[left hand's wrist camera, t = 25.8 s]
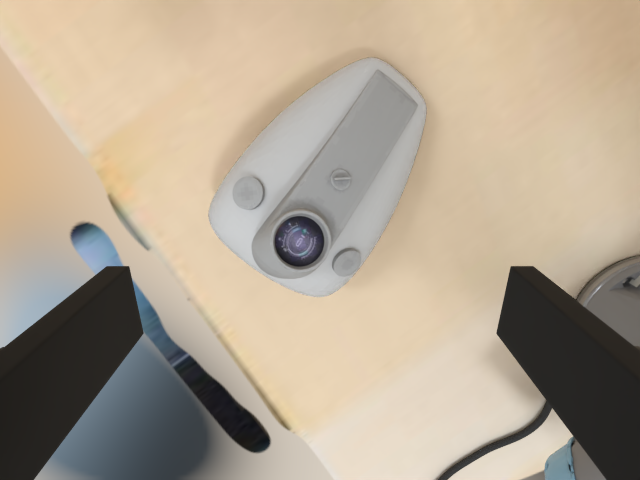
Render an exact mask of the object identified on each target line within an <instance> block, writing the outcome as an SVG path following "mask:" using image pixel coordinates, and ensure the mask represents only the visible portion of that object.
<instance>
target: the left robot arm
mask: <svg viewBox="0 0 640 480" xmlns="http://www.w3.org/2000/svg"><path fill="white" fill-rule="evenodd" d="M142 335H143V329H142V324H141V319H140V315H139V310H138V305H137V301H136V296H135V291H134V287H133V282H132V278H131V273H130V268H129V266H107V267H105V268H104V269H103V270H102V271H100V272H99V273H98V274H97V275H95V276H94V277H93V278H91V279H90V280H89V281H88V282H86V283H85V284H84V285H83V286H81V287H80V288H79V289H78V290H76V291H75V292H74V293H72V294H71V295H70V296H69V297H67V298H66V299H65V300H64V301H62V302H61V303H60V304H59V305H57V306H56V307H55V308H53V309H52V310H51V311H50V312H48V313H47V314H46V315H45V316H43V317H42V318H41V319H40V320H38V321H37V322H36V323H35V324H33V325H32V326H31V327H29V328H28V329H27V330H26V331H24V332H23V333H22V334H20V335H19V336H18V337H17V338H15V339H14V340H13V341H12V342H10V343H9V344H8V345H7V346H5V347H2V348H0V480H34V479H35V477H36V476H37V475H38V473H39V472H40V471H41V469H42V468H43V467H44V465H45V464H46V463H47V461H48V460H49V459H50V457H51V456H52V455H53V453H54V452H55V451H56V449H57V448H58V447H59V445H60V444H61V443H62V441H63V440H64V439H65V437H66V436H67V435H68V433H69V432H70V431H71V429H72V428H73V427H74V425H75V424H76V423H77V421H78V420H79V419H80V417H81V416H82V415H83V413H84V412H85V411H86V409H87V408H88V407H89V405H90V404H91V403H92V401H93V400H94V399H95V397H96V396H97V395H98V393H99V392H100V391H101V389H102V388H103V387H104V385H105V384H106V383H107V381H108V380H109V379H110V377H111V376H112V375H113V373H114V372H115V371H116V369H117V368H118V367H119V365H120V364H121V363H122V361H123V360H124V359H125V357H126V356H127V355H128V353H129V352H130V351H131V349H132V348H133V347H134V345H135V344H136V343H137V341H138V340H139V339H140V337H141V336H142ZM497 335H498V336H499V337H500V339H501V340H502V341H503V343H504V344H505V345H506V347H507V348H508V349H509V351H510V352H511V353H512V355H513V356H514V357H515V359H516V360H517V361H518V363H519V364H520V365H521V367H522V368H523V369H524V371H525V372H526V373H527V375H528V376H529V377H530V379H531V380H532V381H533V383H534V384H535V385H536V387H537V388H538V389H539V391H540V392H541V393H542V395H543V396H544V397H545V399H546V400H547V402H546V404H545V406H544V408H543V410H542V412H541V414H540V415H539V417H538V418H537V419H536V420H535V421H534V422H533V423H532V424H531V425H529V426H528V427H527V428H525V429H524V430H522V431H520V432H518V433H516V434H514V435H512V436H509V437H507V438H504V439H502V440H499V441H497V442H494V443H492V444H490V445H488V446H486V447H484V448H482V449H480V450H478V451H477V452H475V453H473V454H472V455H470V456H468V457H467V458H465V459H463V460H462V461H460V462H459V463H457V464H456V465H454V466H453V467H451V468H450V469H449V470H448V471H446V472H445V473H444V474H443V475H442V476H441V477H440V478H439V479H438V480H448V479H449V478H450V477H451V476H452V475H453V474H455V473H456V472H457V471H459V470H460V469H462V468H463V467H465V466H467V465H468V464H470V463H472V462H473V461H475V460H477V459H478V458H480V457H482V456H484V455H485V454H487V453H489V452H491V451H493V450H496V449H498V448H500V447H503V446H506V445H508V444H511V443H513V442H516V441H518V440H520V439H522V438H524V437H526V436H528V435H529V434H531V433H532V432H534V431H535V430H536V429H537V428H539V427H540V426H541V425H542V423H543V422H544V421H545V420H546V418H547V417H548V415H549V413H550V411H551V409H552V408H553V409H554V411H555V412H556V413H557V415H558V416H559V417H560V419H561V420H562V421H563V423H564V424H565V425H566V427H567V428H568V429H569V431H570V432H571V433H572V435H573V437H572V438H570V440H569V441H568V443H567V444H566V445H565V446H563V447H562V448H560V449H559V450H557V451H556V452H555V453H553V454H552V455H551V456H550V457H549V458H548V459H547V461H546V463H545V470H544V471H545V480H640V256H635V257H631V258H628V259H625V260H622V261H620V262H618V263H615V264H614V265H612V266H610V267H608V268H607V269H605V270H603V271H602V272H601V273H599V274H598V275H597V276H596V277H594V278H593V279H592V280H591V281H590V282H589V283H588V284H587V285H586V287H585V288H584V289H583V290H582V292H581V293H580V295H579V296H578V298H577V300H575V299H574V298H573V297H571V296H570V295H569V294H568V293H566V292H565V291H564V290H562V289H561V288H560V287H559V286H557V285H556V284H555V283H554V282H552V281H551V280H550V279H549V278H547V277H546V276H545V275H543V274H542V273H541V272H540V271H538V270H537V269H536V268H535V267H533V266H511V268H510V273H509V278H508V282H507V287H506V291H505V296H504V301H503V305H502V310H501V315H500V319H499V324H498V329H497Z"/></svg>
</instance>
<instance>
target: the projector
mask: <svg viewBox="0 0 640 480" xmlns="http://www.w3.org/2000/svg"><path fill="white" fill-rule="evenodd" d="M426 110H427V109H426V103H425V100H424V99H423V97H422V95H421V94H420V93H419V91H418V90H417V89H416V88H415V87H414V86H413V85H412V83H411V82H409V81H408V80H407V79H406V78H405V77H404V76H403V75H402V74H401V73H399V72H398V71H397V70H396V69H395V68H393V67H392V66H391V65H389V64H388V63H386V62H384V61H382V60H380V59H378V58H372V57H371V58H364V59H361V60H358V61H356V62H353V63H351V64H349V65H347V66H345V67H344V68H342V69H340V70H338V71H336V72H335V73H333V74H332V75H330V76H328V77H327V78H325V79H324V80H322V81H321V82H319V83H318V84H316V85H315V86H314V87H312V88H311V89H309V90H308V91H307V92H305V93H304V94H303V95H302V96H300V97H299V98H298V99H296V100H295V101H294V102H293V103H292V104H290V105H289V106H288V107H287V108H286V109H285V110H283V111H282V112H281V113H280V114H279V115H278V116H277V117H276V118H275V119H274V120H273V121H272V122H271V123H270V124H269V125H268V126H267V127H266V128H265V129H264V130H263V131H262V132H261V133H260V134H259V135H258V136H257V138H256V139H255V140H254V141H253V142H252V143H251V144H250V145H249V147H248V148H247V149H246V150H245V152H244V153H243V154H242V155H241V157H240V158H239V159H238V160H237V162H236V163H235V164H234V166H233V167H232V168H231V170H230V171H229V173H228V174H227V176H226V177H225V178H224V180H223V182H222V183H221V185H220V186H219V188H218V190H217V192H216V194H215V195H214V197H213V200H212V202H211V204H210V208H209V221H210V224H211V227H212V228H213V230H214V232H215V233H216V235H217V236H218V238H219V239H220V240H221V241H222V242H223V243H224V244H225V245H226V246H227V247H228V248H229V249H230V250H231V251H232V252H233V253H234V254H236V255H237V256H238V257H239V258H241V259H242V260H243V261H244V262H246V263H247V264H248V265H249V266H251V267H252V268H254V269H255V270H257V271H258V272H260V273H261V274H263V275H264V276H266V277H267V278H269V279H271V280H272V281H274V282H276V283H278V284H280V285H282V286H284V287H286V288H288V289H290V290H293V291H295V292H298V293H300V294H304V295H307V296H312V297H324V296H328V295H330V294H332V293H334V292H336V291H337V290H339V289H340V288H341V287H342V286H344V285H345V284H346V283H347V282H348V281H349V280H350V279H351V278H352V277H353V275H354V274H355V273H356V272H357V270H358V269H359V268H360V267H361V266H362V264H363V263H364V261H365V260H366V259H367V257H368V256H369V254H370V253H371V251H372V250H373V248H374V247H375V245H376V243H377V242H378V240H379V239H380V237H381V235H382V233H383V231H384V230H385V228H386V226H387V224H388V222H389V220H390V218H391V216H392V214H393V212H394V210H395V208H396V206H397V204H398V202H399V200H400V197H401V195H402V193H403V190H404V188H405V185H406V183H407V180H408V177H409V175H410V172H411V169H412V166H413V163H414V160H415V157H416V154H417V151H418V147H419V144H420V141H421V137H422V133H423V129H424V124H425V119H426Z"/></svg>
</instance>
